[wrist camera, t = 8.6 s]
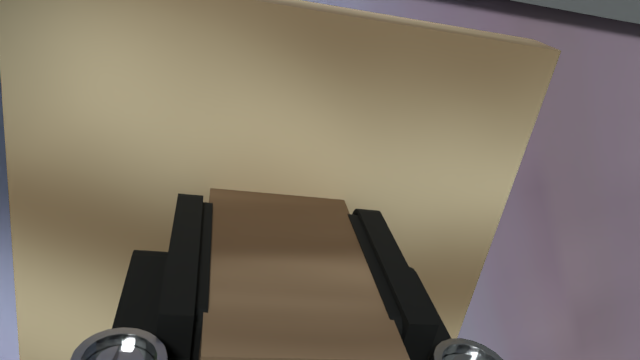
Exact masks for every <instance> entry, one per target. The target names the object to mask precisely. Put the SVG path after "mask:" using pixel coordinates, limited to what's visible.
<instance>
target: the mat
mask: <svg viewBox="0 0 640 360" xmlns="http://www.w3.org/2000/svg"><path fill="white" fill-rule="evenodd" d="M512 1H517V2H523V3H528V4H533V5H539V6H544V7H550V8H555V9H561V10H566V11H571V12H577V13H582V14H588V15H593V16H599V17H604V18H610V19H615V20H620V21H626V22H631V23H637V24H640V0H512Z"/></svg>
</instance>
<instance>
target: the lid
mask: <svg viewBox="0 0 640 360" xmlns="http://www.w3.org/2000/svg"><path fill="white" fill-rule="evenodd" d="M560 53H561V51H560V50H558V49H555V48H553V47H550V46H548V45H545V44H543V43H541V42H538V41H536V40H533V39H528V38H522V37H516V36H510V35H504V34H498V33H492V32H486V31H480V30H475V29H469V28H463V27H457V26H451V25H445V24H439V23H433V22H427V21H421V20H415V19H409V18H403V17H397V16H391V15H385V14H379V13H373V12H367V11H362V10H356V9H350V8H344V7H338V6H332V5H326V4H320V3H314V2H308V1H302V0H0V74H1V89H2V104H3V119H4V134H5V148H6V163H7V178H8V193H9V208H10V222H11V237H12V252H13V267H14V282H15V296H16V311H17V326H18V341H19V355H20V360H70V359H71V357H72V354H73V352H74V350H75V349H76V348H77V347H78V346H79V345H80V344H81V343H82V342H83V341H84V340H86V339H87V338H89V337H90V336H92V335H94V334H96V333H99V332H102V331H105V330H108V329H112V326H113V322H114V319H115V315H116V311H117V308H118V304H119V300H120V297H121V293H122V289H123V286H124V282H125V278H126V275H127V271H128V267H129V264H130V260H131V256H132V253H133V251H134V250H146V251H162V252H168V250H169V244H170V238H171V233H172V227H173V221H174V215H175V209H176V203H177V197H178V193H179V194H190V195H202V196H203V202H208V203H213V211H212V234H211V257H210V280H209V303H208V313H205V312H203V323H202V333H201V342H200V351H199V360H410V358H409V356H408V353H407V351H406V348H405V346H404V344H403V341H402V339H401V336H400V334H399V332H398V329H397V327H396V324H395V322H394V320H390V319H389V316H388V314H387V311H386V309H385V306H384V304H383V301H382V299H381V296H380V294H379V292H378V289H377V287H376V284H375V282H374V279H373V277H372V274H371V272H370V269H369V267H368V264H367V262H366V259H365V257H364V254H363V252H362V249H361V247H360V244H359V242H358V239H357V237H356V234H355V232H354V229H353V227H352V224H351V222H350V220H349V217H348V215H347V214H353V211H354V210H355V209H366V210H378V211H380V212H381V214H382V216H383V217H384V219H385V221H386V223H387V225H388V227H389V229H390V231H391V233H392V235H393V237H394V239H395V241H396V243H397V245H398V246H399V248H400V250H401V252H402V254H403V256H404V258H405V260H406V262H407V264H408V266H409V267H411V268H414V270H415V271H416V272H417V274H418V276H419V278H420V280H421V282H422V284H423V286H424V287H425V289H426V291H427V293H428V295H429V297H430V299H431V301H432V303H433V304H434V306H435V308H436V310H437V312H438V314H439V316H440V318H441V320H442V321H443V323H444V325H445V327H446V329H447V331H448V333H449V335H450V337H451V338H452V339H454V338H457V337H458V334H459V331H460V328H461V326H462V323H463V320H464V317H465V315H466V312H467V309H468V306H469V304H470V301H471V298H472V295H473V293H474V290H475V287H476V284H477V281H478V279H479V276H480V273H481V270H482V268H483V265H484V262H485V259H486V257H487V254H488V251H489V248H490V246H491V243H492V240H493V237H494V235H495V232H496V229H497V226H498V224H499V221H500V218H501V215H502V213H503V210H504V207H505V204H506V202H507V199H508V196H509V193H510V190H511V188H512V185H513V182H514V179H515V177H516V174H517V171H518V168H519V166H520V163H521V160H522V157H523V155H524V152H525V149H526V146H527V144H528V141H529V138H530V135H531V133H532V130H533V127H534V124H535V122H536V119H537V116H538V113H539V111H540V108H541V105H542V102H543V100H544V97H545V94H546V91H547V88H548V86H549V83H550V80H551V77H552V75H553V72H554V69H555V66H556V64H557V61H558V58H559V55H560Z"/></svg>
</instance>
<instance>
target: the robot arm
mask: <svg viewBox="0 0 640 360" xmlns="http://www.w3.org/2000/svg"><path fill="white" fill-rule="evenodd" d="M212 211H213V203H208V202H203V196H202V195H190V194H179V193H178V197H177V203H176V209H175V215H174V221H173V227H172V233H171V238H170V244H169V250H168V252H162V251H146V250H134V251H133V253H132V256H131V260H130V264H129V267H128V271H127V275H126V278H125V282H124V286H123V289H122V293H121V297H120V300H119V304H118V308H117V311H116V315H115V319H114V322H113V326H112V329H108V330H105V331H102V332H99V333H96V334H94V335H92V336H90V337H89V338H87V339H86V340H84V341H83V342H82V343H81V344H80V345H79V346H78V347H77V348H76V349H75V350H74V352H73V354H72V357H71V359H70V360H199V351H200V342H201V333H202V323H203V312H205V313H208V303H209V280H210V257H211V234H212ZM347 215H348V217H349V220H350V222H351V224H352V227H353V229H354V232H355V234H356V237H357V239H358V242H359V244H360V247H361V249H362V252H363V254H364V257H365V259H366V262H367V264H368V267H369V269H370V272H371V274H372V277H373V279H374V282H375V284H376V287H377V289H378V292H379V294H380V296H381V299H382V301H383V304H384V306H385V309H386V311H387V314H388V316H389V319H390V320H394V322H395V324H396V327H397V329H398V332H399V334H400V336H401V339H402V341H403V344H404V346H405V348H406V351H407V353H408V356H409V358H410V360H503V359H502V358H501V357H500V356H499V355H497V354H496V353H495V352H494V351H492V350H491V349H489V348H487V347H486V346H484V345H482V344H479V343H477V342H474V341H471V340H466V339H462V338H454V339H452V338H451V337H450V335H449V333H448V331H447V329H446V327H445V325H444V323H443V321H442V320H441V318H440V316H439V314H438V312H437V310H436V308H435V306H434V304H433V303H432V301H431V299H430V297H429V295H428V293H427V291H426V289H425V287H424V286H423V284H422V282H421V280H420V278H419V276H418V274H417V272H416V271H415V270H414V268H411V267H409V266H408V264H407V262H406V260H405V258H404V256H403V254H402V252H401V250H400V248H399V246H398V245H397V243H396V241H395V239H394V237H393V235H392V233H391V231H390V229H389V227H388V225H387V223H386V221H385V219H384V217H383V216H382V214H381V212H380V211H378V210H366V209H355V210H354V211H353V214H347Z"/></svg>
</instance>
